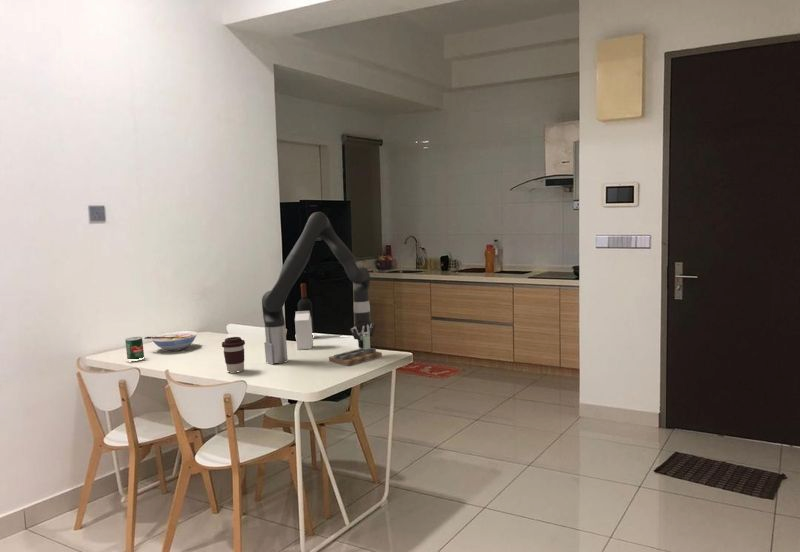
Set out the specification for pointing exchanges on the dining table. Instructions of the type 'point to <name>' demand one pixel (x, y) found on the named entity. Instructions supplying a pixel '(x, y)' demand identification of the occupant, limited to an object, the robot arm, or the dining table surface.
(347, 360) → the brown flat piece
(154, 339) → the ramen bowl
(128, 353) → the canned tomato
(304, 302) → the wine bottle
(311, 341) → the milk carton
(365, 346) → the fader
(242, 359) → the coffee cup
